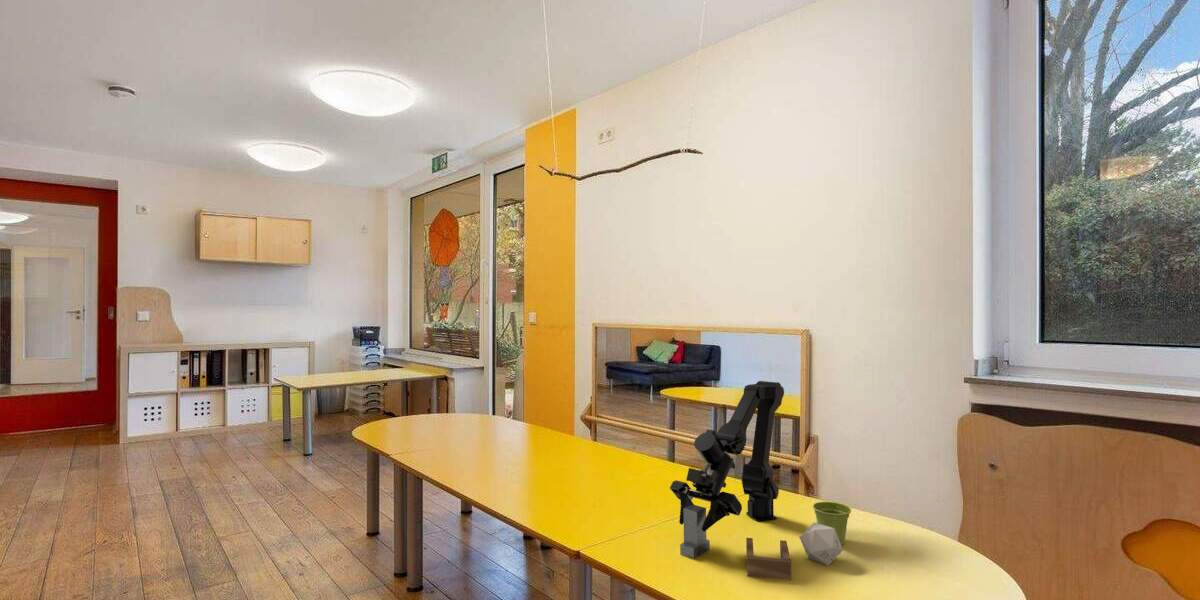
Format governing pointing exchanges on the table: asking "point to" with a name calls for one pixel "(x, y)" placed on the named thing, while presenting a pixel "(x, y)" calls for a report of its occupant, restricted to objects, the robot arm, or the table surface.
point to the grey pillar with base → (694, 532)
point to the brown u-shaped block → (768, 563)
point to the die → (821, 543)
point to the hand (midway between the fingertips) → (691, 527)
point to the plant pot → (833, 517)
